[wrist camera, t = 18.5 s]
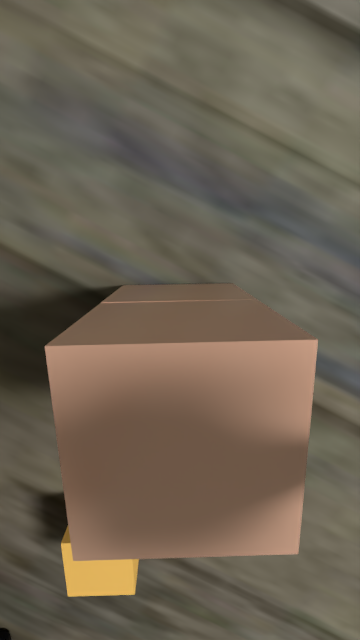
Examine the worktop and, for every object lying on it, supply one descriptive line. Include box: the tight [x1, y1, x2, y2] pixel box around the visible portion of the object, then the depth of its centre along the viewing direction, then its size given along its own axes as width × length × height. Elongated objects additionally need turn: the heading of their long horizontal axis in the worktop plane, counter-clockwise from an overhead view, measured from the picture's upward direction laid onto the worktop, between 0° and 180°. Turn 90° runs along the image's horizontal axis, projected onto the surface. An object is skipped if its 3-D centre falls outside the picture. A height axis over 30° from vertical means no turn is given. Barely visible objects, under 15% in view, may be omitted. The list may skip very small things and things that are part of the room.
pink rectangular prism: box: [45, 299, 318, 561], centre depth 11 cm, size 6×6×6 cm
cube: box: [61, 526, 139, 596], centre depth 20 cm, size 4×4×4 cm
